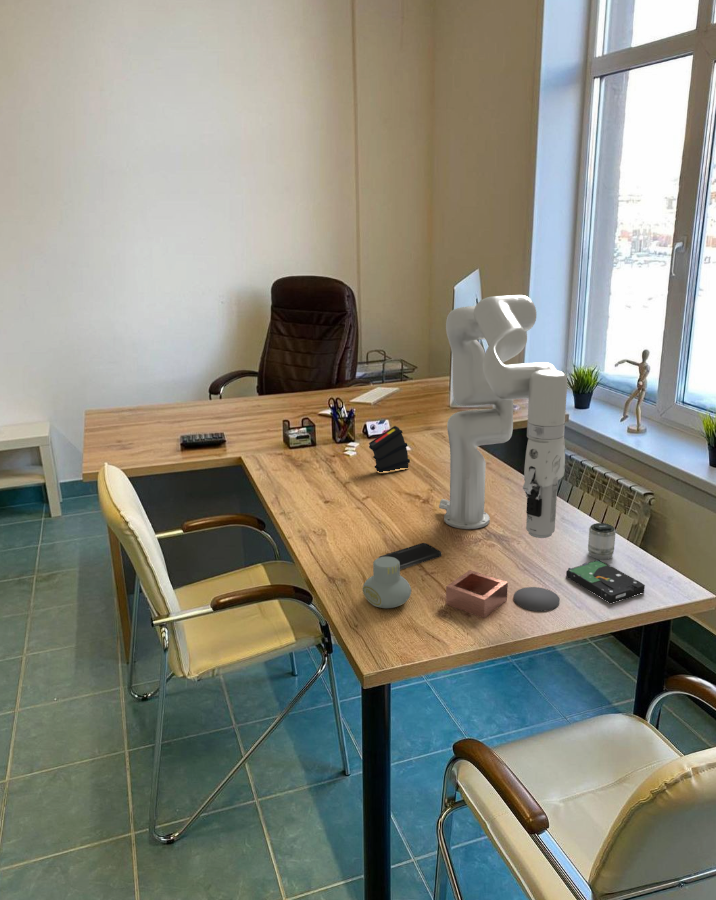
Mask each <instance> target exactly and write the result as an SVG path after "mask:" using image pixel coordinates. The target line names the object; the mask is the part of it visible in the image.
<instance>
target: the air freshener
mask: <svg viewBox="0 0 716 900" xmlns="http://www.w3.org/2000/svg"><path fill="white" fill-rule="evenodd" d="M379 557H380V556H379ZM379 557H377V558H376V559H375V560H374V561H373V562H372V563H373V565H372V568H373V570H372V574H373V575H371V576H370V577H369V578H367V579H366V580H365V582H364V583H363V586H362V593H363V596H364V598H365V600H367V602H368V603H370V604H371V605H372V606H374V607H378V608H380V609H381V608H382V609H394V608H397V607H399V606H401V605H404V604H405V603H407V601H408V600H410V597H411V596H412V595H411V594H412V588H411V585H410V583H409V582H408V580H407V579H406V578H404V576H402V575H401V570H400V562H399V561H398V560H397V559H396V558H393V557H380V558H379Z"/></svg>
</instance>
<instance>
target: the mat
mask: <svg viewBox="0 0 716 900" xmlns="http://www.w3.org/2000/svg"><path fill="white" fill-rule="evenodd" d="M560 601H561V600H560V596H559V595H558V594H557V593H555V591H552V590H550V589H547V588H544V587H539V586H528V587H523V588H519V589H518V590H516V591H515V592H514V594H513V602H514V604H516V605H517V606H518V607H521V608H522V609H524V610H528V611H531V612H549V611H552V610H555V609H556V608H558V606H559V605H560Z"/></svg>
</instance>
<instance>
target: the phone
mask: <svg viewBox="0 0 716 900" xmlns="http://www.w3.org/2000/svg"><path fill="white" fill-rule="evenodd" d="M441 556H442V551H440V550H439V549H437V548H436V547H434V546H432V545H430V544H429V543H426V542H421V543H418V544H415V545H411V546H408V547H406V548H401V549H399V550H396V551H392V552H389V553H385V554H383V555H380V556H378V558H380V557H393V558H396V559H397V560H398V561H399V562H400V571H402V570H404V569H407V568H410V567H413V566H416V565H419V564H422V563H425V562H429V561H433V560H434V559H438V558H441Z"/></svg>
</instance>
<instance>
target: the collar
mask: <svg viewBox="0 0 716 900" xmlns="http://www.w3.org/2000/svg"><path fill="white" fill-rule="evenodd" d="M508 584H509V583H508V581H505V580H501V579H498V578H495V577H493V576H490V575H487V574H484V573H480V572H477V571H475V570H473V569H472V570H471V569H469V570H468V571H466V572H464V573H463V574H462V575H461V576H459V577H457V578H456V579H454V580H453V581H452V582H450V583H449V584H446V587H445V589H446V590H445V605H447V606H450V607H452V608H455V609H458V610H461V611H462V612H466V613H468V614H471V615H474V616H476V617H479V618H482V619H485V618H487V617H488V616H489V615H490V614H492V613H494V611H495V610H497V609H498V608H499V607H501V606H502V605H503V604H505V602H506V601H508V587H509V585H508Z"/></svg>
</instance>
